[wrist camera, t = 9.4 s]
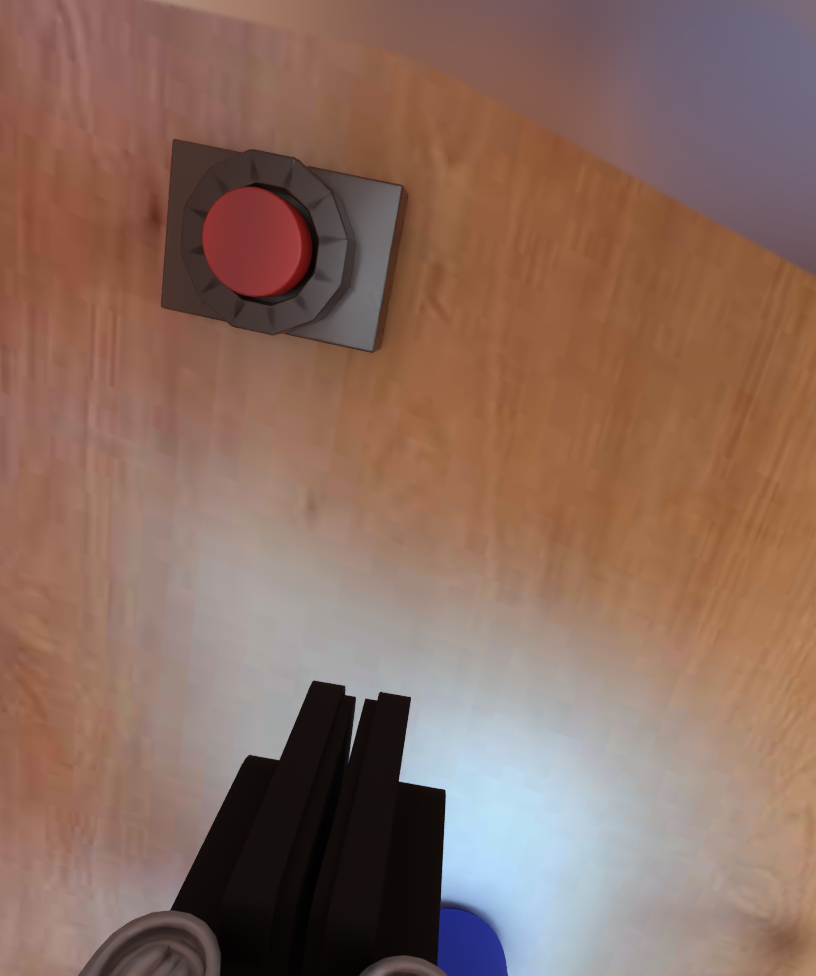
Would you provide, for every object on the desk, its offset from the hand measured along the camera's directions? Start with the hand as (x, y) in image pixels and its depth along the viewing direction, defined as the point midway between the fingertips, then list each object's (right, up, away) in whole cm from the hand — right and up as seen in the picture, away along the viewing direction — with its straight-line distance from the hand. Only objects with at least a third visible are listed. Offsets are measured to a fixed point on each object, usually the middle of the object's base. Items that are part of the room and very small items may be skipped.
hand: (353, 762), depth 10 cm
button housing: (-5, +16, +19) cm, 25 cm away
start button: (-5, +15, +15) cm, 22 cm away
